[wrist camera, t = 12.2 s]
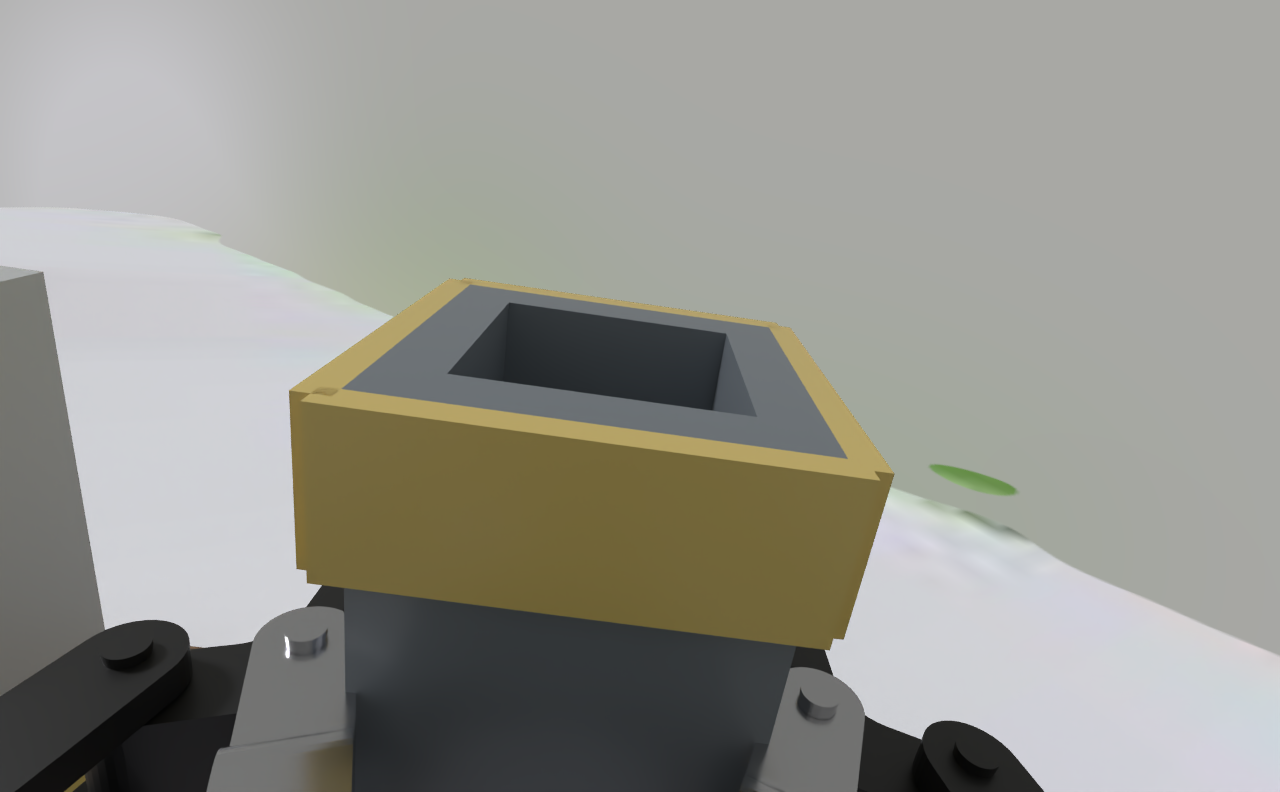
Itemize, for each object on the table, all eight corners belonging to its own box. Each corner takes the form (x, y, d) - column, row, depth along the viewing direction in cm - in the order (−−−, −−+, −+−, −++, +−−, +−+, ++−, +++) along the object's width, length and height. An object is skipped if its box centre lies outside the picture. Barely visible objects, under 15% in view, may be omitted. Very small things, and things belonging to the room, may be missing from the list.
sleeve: (313, 1124, 10) (278, 398, 6) (429, 787, 16) (452, 276, 12) (688, 1162, 11) (901, 483, 6) (676, 817, 16) (788, 324, 12)
